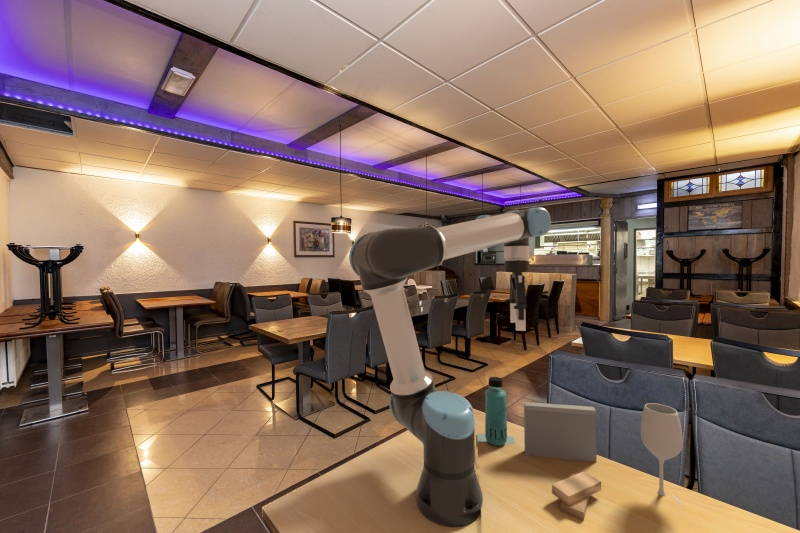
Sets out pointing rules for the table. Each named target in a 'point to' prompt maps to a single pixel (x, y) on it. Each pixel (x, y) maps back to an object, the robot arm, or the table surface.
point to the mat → (482, 438)
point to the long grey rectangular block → (560, 431)
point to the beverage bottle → (495, 412)
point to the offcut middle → (576, 507)
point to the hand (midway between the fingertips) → (517, 326)
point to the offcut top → (576, 487)
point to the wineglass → (661, 435)
